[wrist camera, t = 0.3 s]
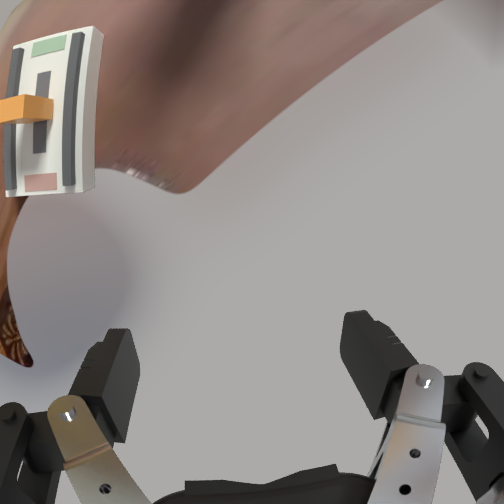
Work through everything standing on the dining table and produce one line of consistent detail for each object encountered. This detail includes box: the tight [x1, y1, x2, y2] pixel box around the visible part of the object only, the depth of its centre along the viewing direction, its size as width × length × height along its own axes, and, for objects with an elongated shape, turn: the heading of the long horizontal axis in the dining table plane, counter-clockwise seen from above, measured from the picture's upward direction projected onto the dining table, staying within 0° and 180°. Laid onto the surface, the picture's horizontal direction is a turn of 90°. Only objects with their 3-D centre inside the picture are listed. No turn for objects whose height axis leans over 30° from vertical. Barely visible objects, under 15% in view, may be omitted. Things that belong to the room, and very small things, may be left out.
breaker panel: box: [6, 26, 104, 197], centre depth 29 cm, size 20×12×4 cm, turn 177°
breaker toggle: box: [0, 94, 53, 124], centre depth 24 cm, size 2×4×6 cm, turn 87°
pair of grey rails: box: [4, 31, 85, 191], centre depth 27 cm, size 18×10×1 cm, turn 177°
